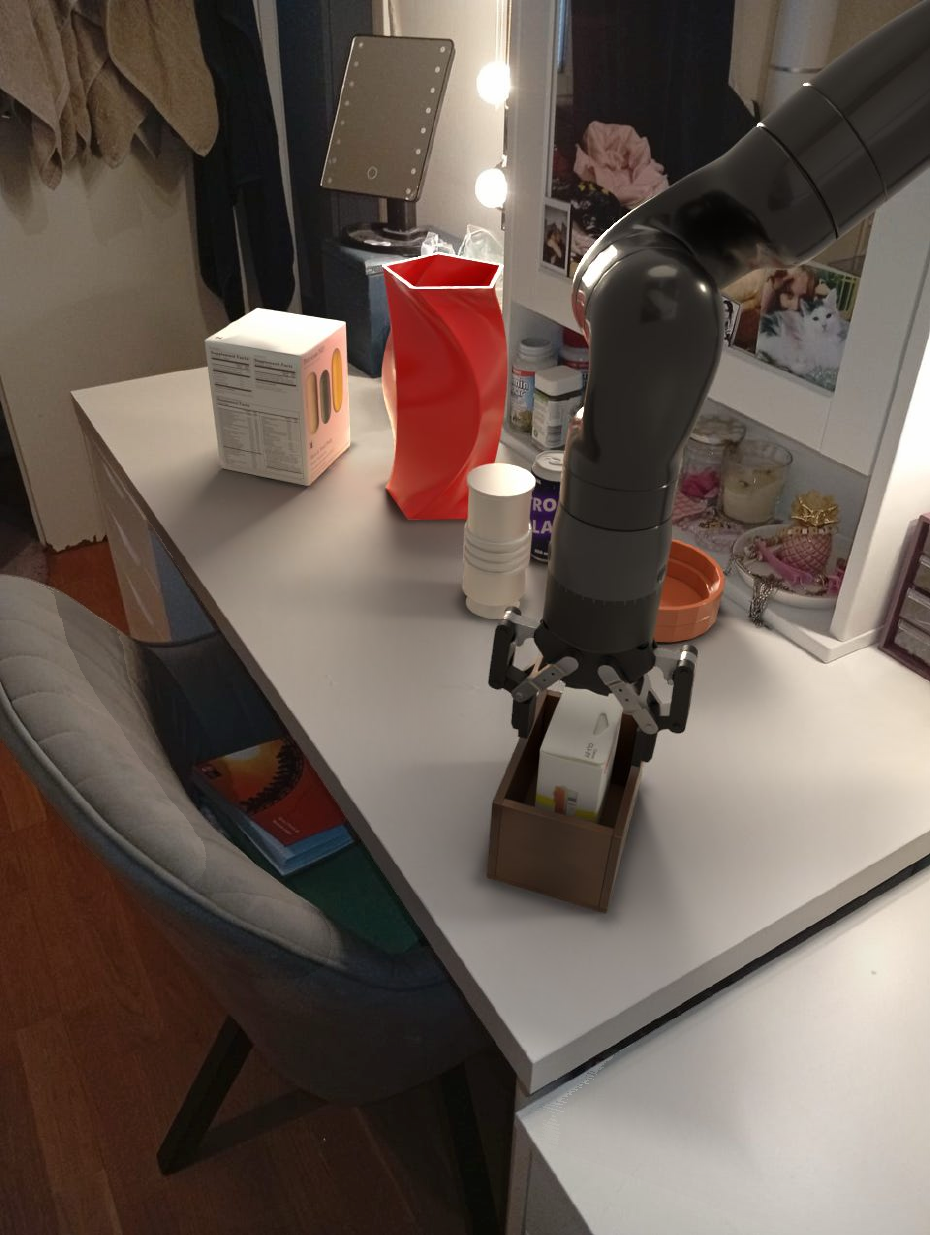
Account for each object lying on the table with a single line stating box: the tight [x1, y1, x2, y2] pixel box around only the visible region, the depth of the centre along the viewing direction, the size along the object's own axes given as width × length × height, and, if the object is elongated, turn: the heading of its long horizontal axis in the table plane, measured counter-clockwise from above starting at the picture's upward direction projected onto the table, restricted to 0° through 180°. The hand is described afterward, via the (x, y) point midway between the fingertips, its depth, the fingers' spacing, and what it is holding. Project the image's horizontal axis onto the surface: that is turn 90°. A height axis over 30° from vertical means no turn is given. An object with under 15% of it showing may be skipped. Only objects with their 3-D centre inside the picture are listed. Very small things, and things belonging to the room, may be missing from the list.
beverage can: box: [529, 449, 564, 563], centre depth 105 cm, size 6×6×12 cm
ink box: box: [535, 686, 623, 825], centre depth 72 cm, size 9×5×12 cm, turn 162°
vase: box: [381, 252, 509, 521], centre depth 111 cm, size 15×14×28 cm
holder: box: [486, 688, 645, 914], centre depth 73 cm, size 9×13×8 cm
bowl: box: [654, 538, 726, 643], centre depth 100 cm, size 14×14×4 cm
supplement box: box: [204, 307, 351, 487], centre depth 121 cm, size 13×13×18 cm
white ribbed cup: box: [461, 462, 535, 620], centre depth 96 cm, size 7×7×15 cm
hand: (580, 744), depth 70 cm, fingers open, 8 cm apart
